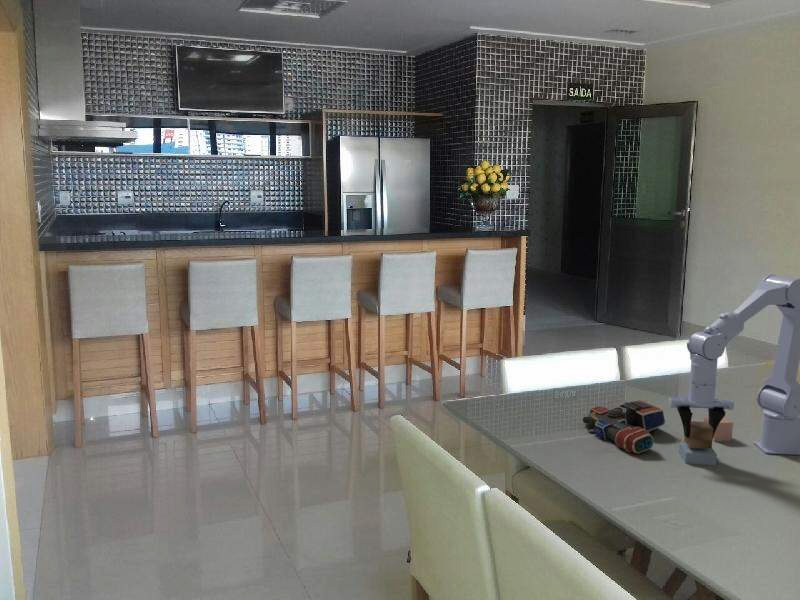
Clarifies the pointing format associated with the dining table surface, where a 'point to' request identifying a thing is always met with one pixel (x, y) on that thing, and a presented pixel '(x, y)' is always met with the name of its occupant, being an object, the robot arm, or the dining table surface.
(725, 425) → the terracotta block
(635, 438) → the red blue plastic piece
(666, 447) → the dining table surface
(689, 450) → the blue slab
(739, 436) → the dining table surface
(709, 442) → the walnut block
